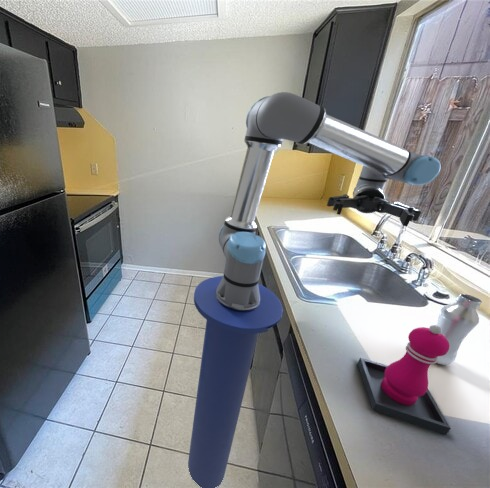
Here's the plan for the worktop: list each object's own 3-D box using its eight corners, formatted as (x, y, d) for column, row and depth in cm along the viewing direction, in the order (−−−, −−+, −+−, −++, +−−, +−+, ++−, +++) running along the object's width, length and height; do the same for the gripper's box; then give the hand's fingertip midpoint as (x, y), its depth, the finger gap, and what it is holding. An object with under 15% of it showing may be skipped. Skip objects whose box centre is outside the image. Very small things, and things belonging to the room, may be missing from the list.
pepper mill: (395, 377, 64) (432, 313, 56) (426, 405, 57) (473, 337, 49) (370, 381, 63) (404, 315, 55) (399, 410, 56) (443, 341, 48)
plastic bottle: (438, 370, 67) (479, 308, 59) (411, 350, 73) (444, 291, 65) (456, 366, 69) (499, 305, 60) (428, 347, 75) (463, 289, 66)
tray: (357, 363, 68) (359, 357, 67) (416, 380, 64) (420, 374, 63) (372, 409, 57) (376, 403, 56) (446, 434, 52) (451, 428, 52)
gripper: (415, 219, 75) (432, 241, 59) (319, 203, 88) (312, 218, 71) (427, 193, 72) (448, 209, 56) (326, 181, 85) (319, 191, 68)
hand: (372, 214), depth 64 cm, fingers open, 13 cm apart
